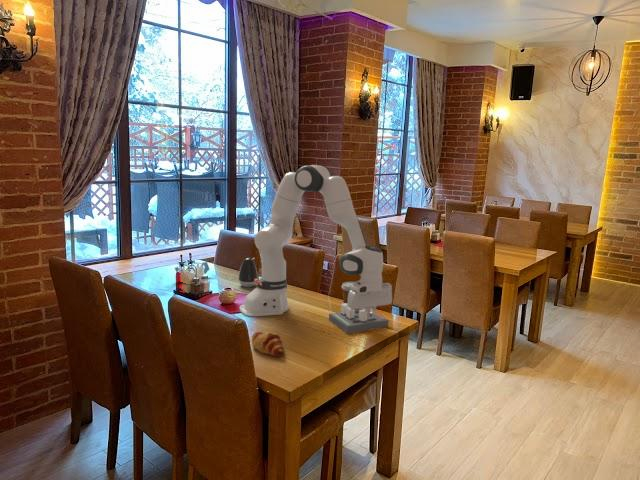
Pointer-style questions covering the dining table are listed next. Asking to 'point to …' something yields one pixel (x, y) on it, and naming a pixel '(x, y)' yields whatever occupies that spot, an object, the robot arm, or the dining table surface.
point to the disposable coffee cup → (346, 291)
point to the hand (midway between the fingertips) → (369, 316)
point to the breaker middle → (350, 313)
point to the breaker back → (344, 308)
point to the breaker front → (362, 315)
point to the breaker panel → (357, 322)
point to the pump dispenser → (248, 273)
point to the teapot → (196, 263)
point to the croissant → (268, 343)
